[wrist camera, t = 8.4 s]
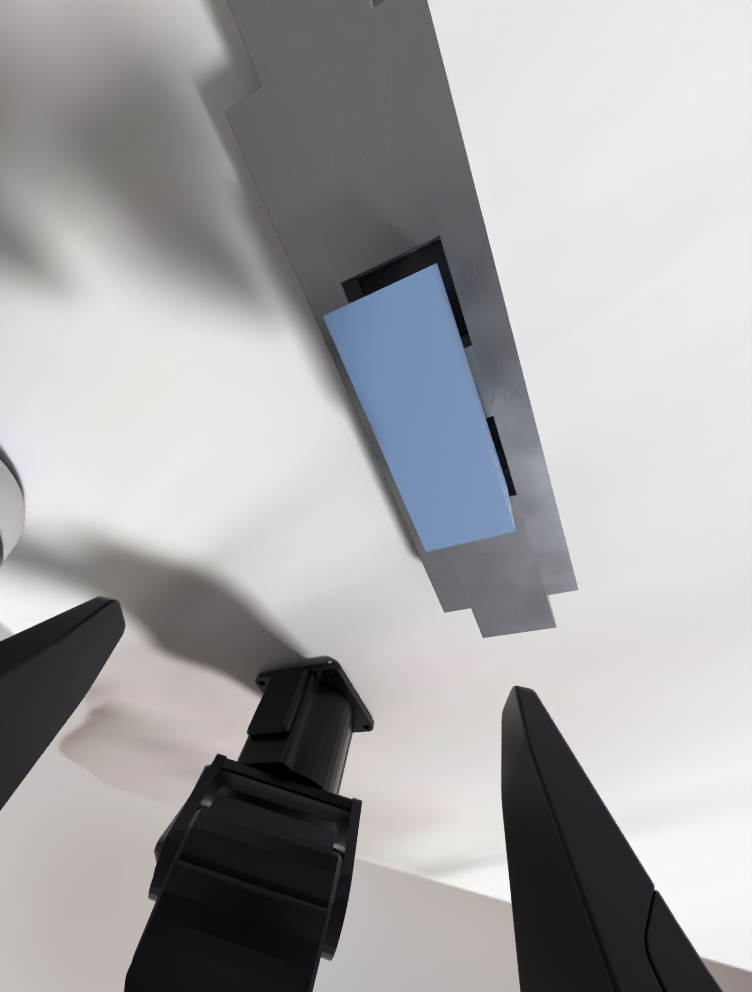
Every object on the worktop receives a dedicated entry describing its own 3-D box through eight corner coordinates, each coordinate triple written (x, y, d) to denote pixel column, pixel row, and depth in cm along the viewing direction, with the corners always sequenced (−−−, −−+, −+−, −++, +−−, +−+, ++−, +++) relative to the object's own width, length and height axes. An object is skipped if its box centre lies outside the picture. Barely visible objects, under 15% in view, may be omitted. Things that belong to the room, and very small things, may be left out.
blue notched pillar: (501, 454, 19) (515, 531, 13) (435, 473, 20) (426, 551, 14) (441, 261, 15) (430, 266, 10) (366, 296, 16) (322, 316, 11)
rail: (574, 585, 21) (586, 623, 19) (457, 605, 23) (457, 641, 21) (403, -73, 12) (389, -145, 9) (229, 59, 14) (186, 23, 11)
